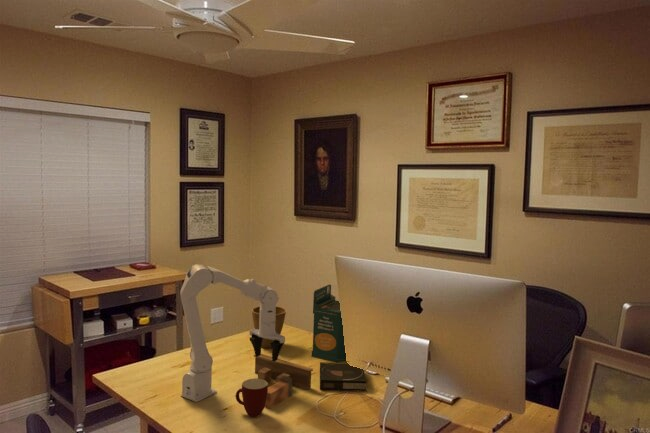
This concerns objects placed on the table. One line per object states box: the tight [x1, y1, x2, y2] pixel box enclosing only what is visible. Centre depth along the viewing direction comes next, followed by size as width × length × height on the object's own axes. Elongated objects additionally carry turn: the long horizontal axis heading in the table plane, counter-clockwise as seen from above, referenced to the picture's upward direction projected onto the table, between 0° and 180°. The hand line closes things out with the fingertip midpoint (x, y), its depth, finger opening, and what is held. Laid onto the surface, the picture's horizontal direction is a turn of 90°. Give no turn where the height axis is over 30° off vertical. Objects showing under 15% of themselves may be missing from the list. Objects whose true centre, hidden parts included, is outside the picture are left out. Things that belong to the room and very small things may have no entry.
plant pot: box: [251, 305, 287, 349], centre depth 216 cm, size 15×15×16 cm
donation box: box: [310, 284, 347, 363], centre depth 207 cm, size 16×16×28 cm
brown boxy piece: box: [264, 376, 293, 409], centre depth 164 cm, size 12×4×6 cm, turn 148°
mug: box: [235, 378, 269, 418], centre depth 154 cm, size 10×8×10 cm
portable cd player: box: [319, 361, 367, 392], centre depth 182 cm, size 16×17×4 cm
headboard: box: [253, 353, 314, 391], centre depth 178 cm, size 8×25×7 cm, turn 58°
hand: (266, 358), depth 176 cm, fingers open, 7 cm apart
